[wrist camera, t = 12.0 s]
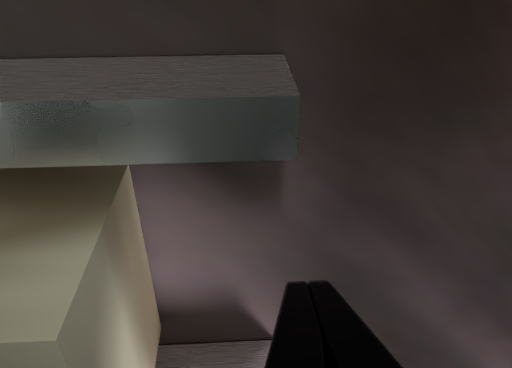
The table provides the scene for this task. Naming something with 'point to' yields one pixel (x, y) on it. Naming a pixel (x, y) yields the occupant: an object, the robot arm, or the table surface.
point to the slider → (74, 270)
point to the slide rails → (152, 130)
